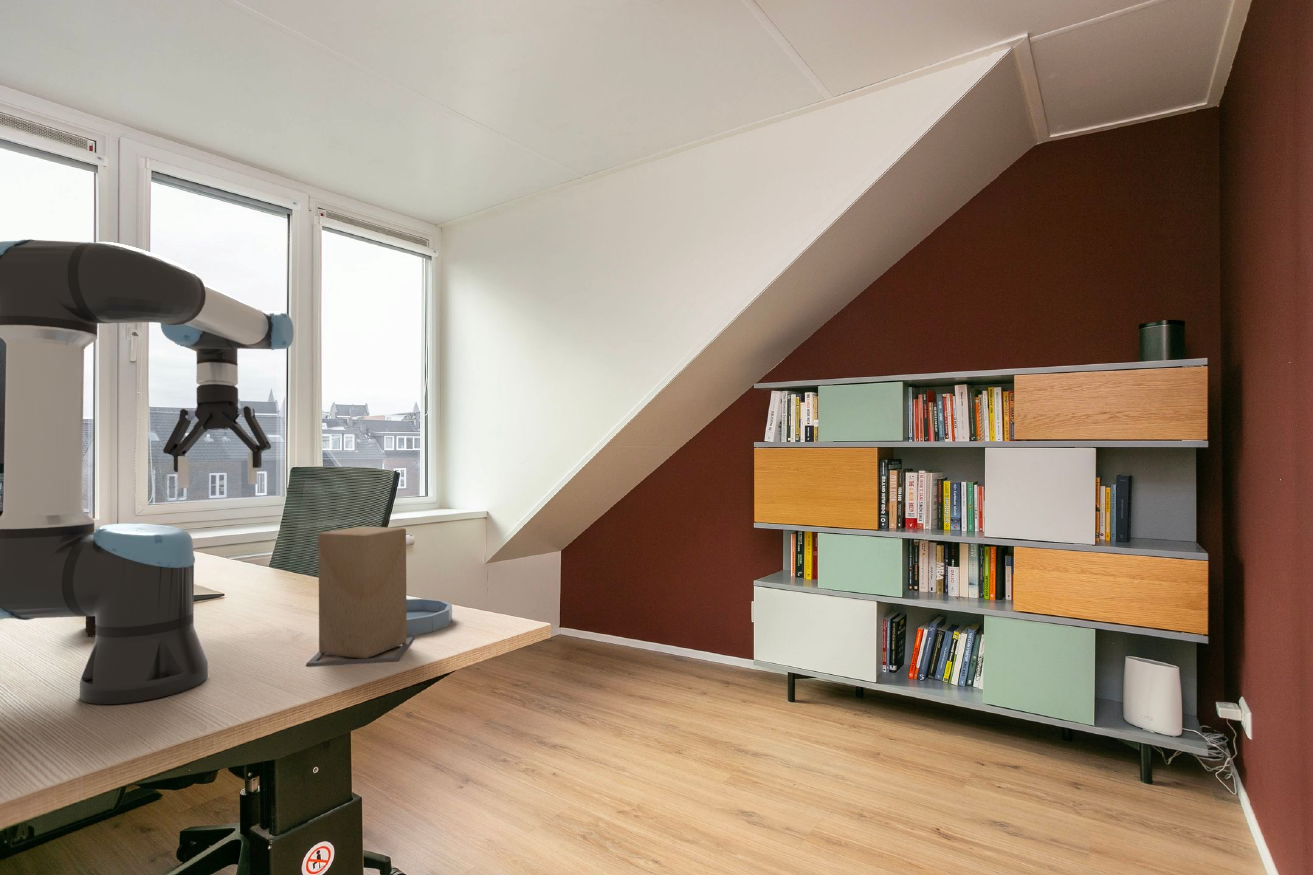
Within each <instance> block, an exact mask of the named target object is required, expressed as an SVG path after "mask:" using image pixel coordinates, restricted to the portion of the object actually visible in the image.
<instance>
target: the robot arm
mask: <svg viewBox="0 0 1313 875" xmlns="http://www.w3.org/2000/svg"><path fill="white" fill-rule="evenodd" d="M129 323H135V324H136V323H156V324H157V323H158V324H160V329H161V332H162V333H163V335H164V336H165V338H167V339H168V340H170V341H171V342H174V344H176V345H177V346H180V347H184V348H187V349H189V350H192V351H195V353H196V376H195V377H196V378H195V379H196V381H195V382H196V384H197V385H198V386H197V387H196V405H197V406H196V409H195V410H193V409H192V410H190V409H185V408H181V409H180V410H179V418H178V421H177V423H176V424H175V426H174V429H173V430H172V432H171V434H170V435H169V438H168V440H167V442H166V444H165V446H164V448H163V449H162V451H163V453H164V454H166V455H170V456H172V457H173V471H174V472H176V473H177V488H178V489H179V488H180V489H190V486H189V485H190V463H189V462H190V458H189V456H186V454H187V453H188V452H189V451H190V450H191V448H192V447H193V446H194V445H195V444H196V442H198V441H199V439H200V438H201V437H202V436H203V435H204V434H205V433H207V432H208V430H209V431H217V430H224V431H225V430H229V429H230V431H232V432H233V433H234V434H235V435H236V436H237V437H238V438H239V439H240V440H241V442H243V444H245V445H246V447H247V448H248V449H249V450H250V452H247V484H248V485H258V469H260V468H261V467H262V453H263V452H264V451H267V450H271V448H272V445H271V443H270V442H269V440H268V437H267V435H266V434H265V432H264V430H263V429H262V427H261V425H260V424H259V422H258V420H257V418H256V414H255V413H256V411H255V409H254V408H253V407H250V406H247V405H245V406H244V407H243V408H239V389H238V387H237V385H238V384H239V381H238V380H239V377H238V372H239V370H238V364H239V363H238V350H246V349H247V350H271V351H274V350H285V349H288V348H290V347H291V346H292V343H293V342H294V325H293V321H292V318H291V317H290V315H289V314H288V313H286V312H282V311H274V310H272V311H264V310H261V309H259V308H256V307H254V306H252V305H250V304H247V303H246V302H244V301H241V300H239V299H237V298H235V297H233V296H231V295H229V294H227V293H226V292H222V291H221V290H219V289H216V288H214V287H212V286H210V285H208V284H206V283H204V282H203V280H202V279H201V278H200V276H199V275H198V274H197V273H195V272H194V271H193V270H191V269H190V268H188V267H185V266H183V265H181V264H179V263H177V262H174V261H172V260H170V259H167V258H165V257H162V256H160V255H157V254H154V253H152V252H149V251H145V250H143V249H140V248H137V247H133V246H129V245H125V244H121V243H116V242H115V243H114V242H110V241H109V242H108V241H95V242H90V241H88V242H87V241H86V242H85V241H65V240H63V241H62V240H45V239H44V240H39V239H21V240H7V241H6V240H5V241H3V240H2V241H0V339H1V340H3V342H4V343H5V344H6V348H5V350H6V352H5V362H6V363H5V397H4V398H5V400H4V401H5V404H4V452H3V453H4V454H3V455H4V456H3V461H4V462H3V497H2V498H3V501H2V502H3V509H2V510H3V511H2V514H1V515H0V619H13V620H15V619H16V620H22V621H30V620H34V619H45V618H46V619H49V618H52V619H53V618H75V617H77V618H80V617H85V618H86V616H95V620H96V636H95V639H94V643H93V646H92V649H91V652H90V655H89V656H88V660H87V662H86V664H85V667H84V670H83V673H82V675H81V677H80V680H79V699H80V701H83V702H84V703H89V704H95V705H117V704H129V703H135V702H143V701H149V700H155V699H159V698H163V697H167V696H171V695H174V694H177V693H181V692H184V691H186V690H189V689H192V688H194V687H197V686H199V685H200V684H202V683H203V682H205V681H206V680H207V679H208V677H209V674H208V673H209V671H208V669H209V668H208V667H209V666H208V659H207V657H206V655H205V652H204V650H203V647H202V644H201V642H200V639H199V637H198V634H197V632H196V629H195V626H194V623H195V622H194V621H195V620H194V618H195V617H194V607H195V605H194V604H195V603H194V599H195V596H194V594H195V593H194V590H195V588H194V587H195V586H194V585H195V581H194V579H195V577H194V576H195V562H196V556H195V552H194V545H193V543H194V541H193V538H192V536H191V534H190V533H189V532H188V531H187V530H184V529H183V528H180V527H176V526H171V525H163V524H154V523H128V522H127V523H111V524H110V523H109V524H105V525H104V524H103V525H101V526H99V527H97V528H96V530H95V519H93V518H92V517H90V516H89V515H88V514H86V513H85V512H84V510H83V509H82V508H83V507H82V506H83V454H84V453H83V451H84V450H83V448H84V447H83V443H84V442H83V441H84V387H85V386H84V383H85V382H84V379H85V377H84V376H85V349H86V347H88V346H90V345H91V344H92V343H94V342H95V341H96V340H98V324H129ZM240 415H241V417H242V418H244V420H245V421H246V423H247V425H248V427H249V429H250V431H251V432H252V434H253V437H254V438H255V440H256V441H257V442H256V441H255V440H254V439H253V437H251V435H250V434H249V433H248V432H247V431H246V430H245V429H244V428H243V427H242V426H241V424H240V423H239V422H238V421H237V420H238V418H239V417H240ZM195 417H196V419H197V420H198V421H196V423H194V425H193V428H192V429H191V430H190V432H189V433H188V434H187V436H185V435H186V433H187V431H188V430H189V427H190V425H191V422H192V421H193V420H194V419H195ZM184 437H185V438H184Z"/></svg>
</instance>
